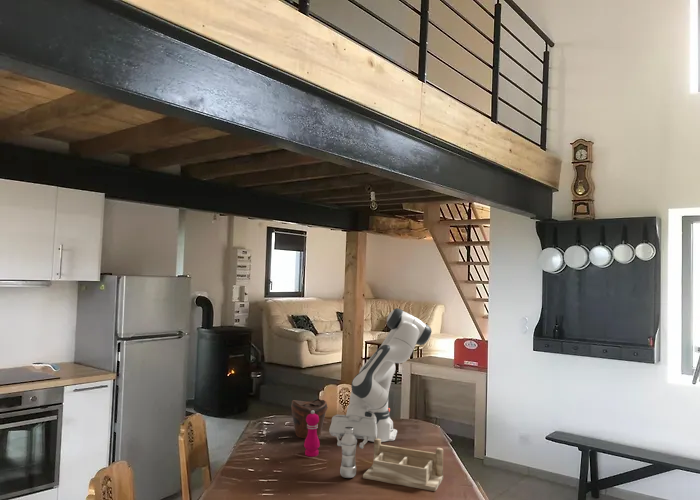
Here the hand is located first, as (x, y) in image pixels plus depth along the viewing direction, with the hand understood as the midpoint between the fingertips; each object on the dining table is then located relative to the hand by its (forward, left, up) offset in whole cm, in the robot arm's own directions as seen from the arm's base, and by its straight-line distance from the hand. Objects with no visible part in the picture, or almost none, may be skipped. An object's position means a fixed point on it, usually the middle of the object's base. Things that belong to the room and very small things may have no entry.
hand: (350, 446), depth 221 cm
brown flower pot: (-42, -39, -13) cm, 59 cm away
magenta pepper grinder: (-17, -25, -12) cm, 33 cm away
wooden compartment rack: (-8, +21, -12) cm, 25 cm away
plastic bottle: (0, 0, -12) cm, 12 cm away
